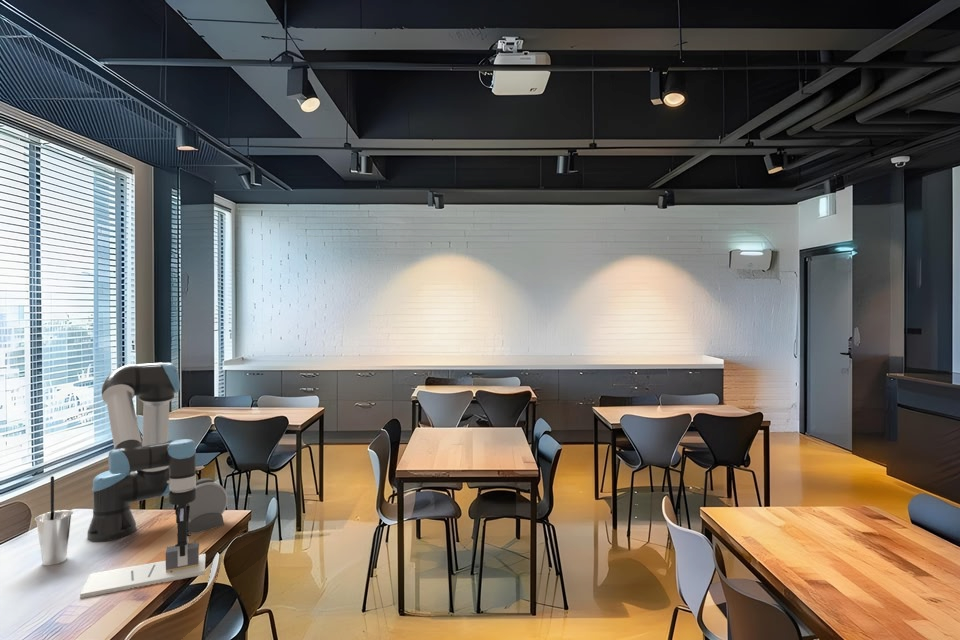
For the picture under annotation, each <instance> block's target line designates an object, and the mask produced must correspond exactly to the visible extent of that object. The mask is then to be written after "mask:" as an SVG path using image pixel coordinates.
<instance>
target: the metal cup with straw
mask: <svg viewBox="0 0 960 640" xmlns="http://www.w3.org/2000/svg"><path fill="white" fill-rule="evenodd" d="M49 508H50V511H49V512H45V513H42V514H40V515H38V516H36V517H35V518H34V521H36V528H37V535H38V543H39V548H40V554H41V562H42V563H41V564H42V565H43V566H53V565H58V564H60V563H64V562H65V561H66V560H67V557H68V549H69V548H68V546H69V538H70V531H71V530H70V529H71V520H72V515H73V513H74V510H71V509H70V510H69V509H68V510H67V509H62V510H55V476H50V507H49Z"/></svg>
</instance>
